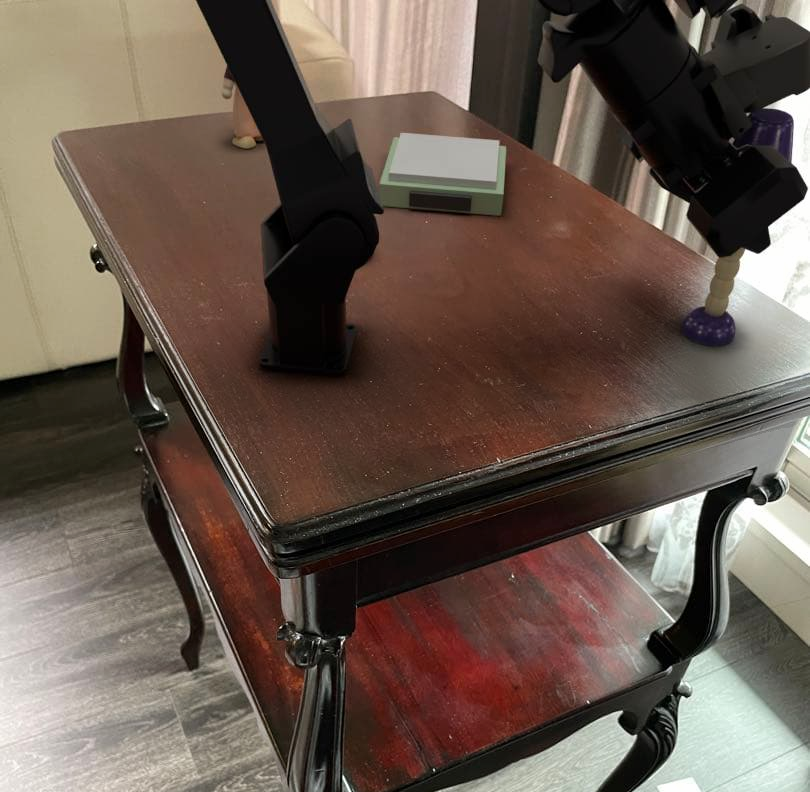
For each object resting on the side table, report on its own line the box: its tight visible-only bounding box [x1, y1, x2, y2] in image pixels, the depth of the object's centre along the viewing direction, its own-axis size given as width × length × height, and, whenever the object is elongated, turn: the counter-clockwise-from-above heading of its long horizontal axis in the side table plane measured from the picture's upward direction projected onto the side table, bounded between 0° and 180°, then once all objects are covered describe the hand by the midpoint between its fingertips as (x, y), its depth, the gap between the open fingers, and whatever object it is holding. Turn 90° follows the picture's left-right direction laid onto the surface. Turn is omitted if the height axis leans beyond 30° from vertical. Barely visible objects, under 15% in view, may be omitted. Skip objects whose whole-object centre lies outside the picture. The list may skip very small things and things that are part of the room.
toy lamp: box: [680, 107, 795, 347], centre depth 62 cm, size 5×5×17 cm
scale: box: [378, 132, 507, 217], centre depth 85 cm, size 12×12×3 cm
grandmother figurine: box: [221, 65, 263, 150], centre depth 88 cm, size 8×4×13 cm, turn 168°
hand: (752, 235), depth 63 cm, fingers closed on toy lamp, 4 cm apart
